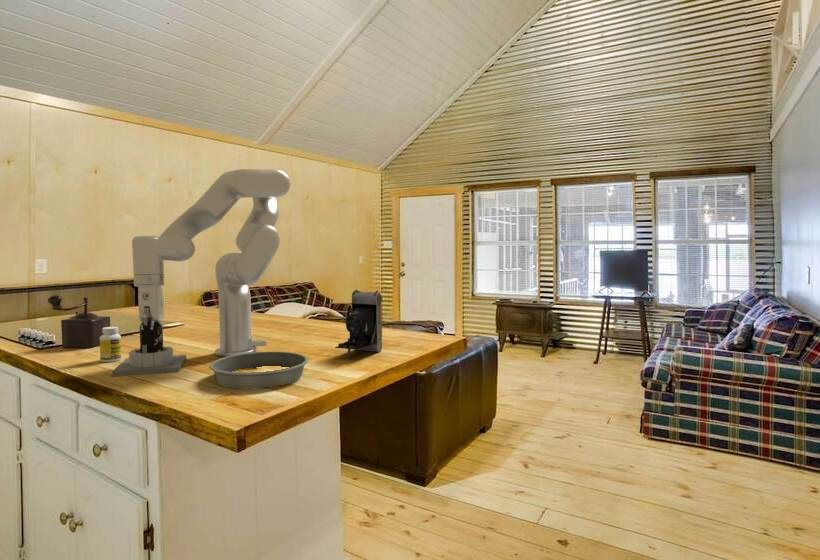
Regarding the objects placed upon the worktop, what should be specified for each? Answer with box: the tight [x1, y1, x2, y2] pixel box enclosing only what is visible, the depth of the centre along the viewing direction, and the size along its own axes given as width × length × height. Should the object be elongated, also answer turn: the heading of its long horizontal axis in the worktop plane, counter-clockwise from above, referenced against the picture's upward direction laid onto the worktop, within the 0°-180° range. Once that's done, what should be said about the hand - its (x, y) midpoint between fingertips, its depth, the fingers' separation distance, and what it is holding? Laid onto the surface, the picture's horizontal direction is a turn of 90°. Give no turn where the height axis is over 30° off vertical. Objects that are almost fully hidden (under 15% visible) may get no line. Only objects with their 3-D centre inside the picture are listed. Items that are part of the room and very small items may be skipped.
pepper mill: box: [47, 294, 111, 349], centre depth 166 cm, size 16×11×18 cm
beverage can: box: [139, 320, 164, 353], centre depth 140 cm, size 6×6×12 cm
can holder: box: [111, 345, 188, 377], centre depth 140 cm, size 16×16×5 cm
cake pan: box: [208, 351, 309, 389], centre depth 130 cm, size 25×25×4 cm
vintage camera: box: [334, 289, 383, 360], centre depth 155 cm, size 10×16×20 cm, turn 158°
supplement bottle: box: [99, 326, 123, 363], centre depth 147 cm, size 5×5×10 cm
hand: (152, 340), depth 140 cm, fingers open, 9 cm apart
